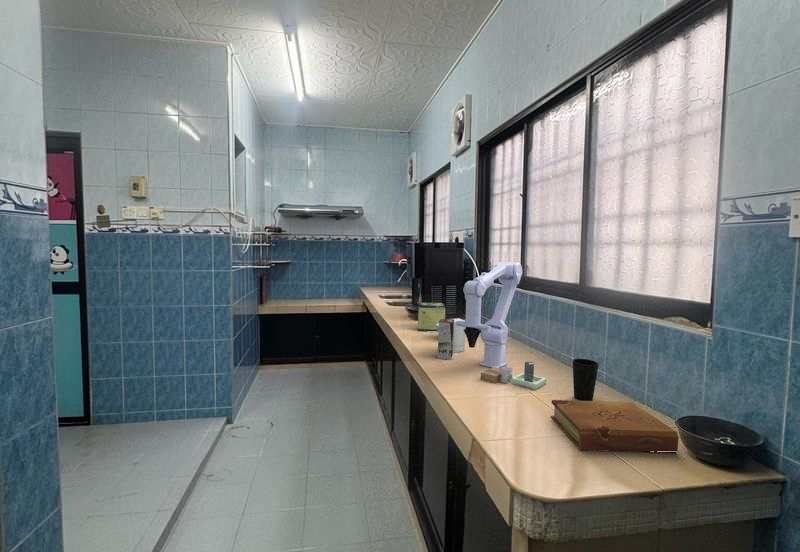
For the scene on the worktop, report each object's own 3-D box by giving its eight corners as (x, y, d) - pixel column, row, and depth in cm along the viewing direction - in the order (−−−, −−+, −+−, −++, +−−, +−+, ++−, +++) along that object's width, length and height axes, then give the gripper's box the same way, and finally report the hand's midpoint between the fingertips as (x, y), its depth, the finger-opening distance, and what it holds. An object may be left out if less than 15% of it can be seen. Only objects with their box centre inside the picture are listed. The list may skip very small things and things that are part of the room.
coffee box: (452, 360, 167) (453, 322, 166) (437, 358, 168) (438, 321, 167) (453, 354, 176) (454, 319, 175) (439, 353, 177) (440, 318, 176)
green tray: (522, 377, 145) (522, 372, 145) (546, 383, 139) (546, 378, 139) (511, 383, 139) (511, 378, 138) (535, 390, 133) (536, 384, 132)
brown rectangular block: (493, 375, 149) (493, 367, 149) (507, 378, 145) (507, 371, 145) (480, 380, 143) (480, 372, 142) (495, 384, 138) (495, 376, 138)
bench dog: (504, 379, 143) (504, 366, 143) (511, 381, 141) (512, 367, 141) (499, 381, 140) (499, 368, 140) (506, 383, 138) (507, 370, 138)
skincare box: (457, 348, 187) (459, 318, 186) (465, 351, 181) (466, 320, 180) (443, 350, 183) (444, 319, 182) (450, 353, 178) (451, 321, 177)
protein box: (445, 332, 224) (445, 305, 223) (418, 331, 224) (418, 304, 223) (443, 328, 234) (444, 303, 233) (417, 327, 234) (418, 302, 233)
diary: (580, 453, 92) (581, 430, 92) (550, 419, 111) (551, 399, 111) (677, 455, 92) (678, 432, 92) (631, 421, 111) (632, 401, 110)
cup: (585, 404, 121) (588, 366, 121) (565, 395, 128) (567, 360, 127) (601, 400, 125) (603, 363, 124) (580, 392, 132) (583, 357, 131)
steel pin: (526, 379, 141) (527, 361, 140) (534, 382, 139) (535, 363, 138) (522, 382, 139) (523, 363, 138) (531, 384, 136) (532, 365, 136)
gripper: (451, 310, 151) (450, 345, 152) (484, 315, 141) (483, 352, 142) (461, 309, 156) (460, 342, 157) (494, 313, 146) (492, 349, 147)
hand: (471, 347), depth 150 cm, fingers closed
